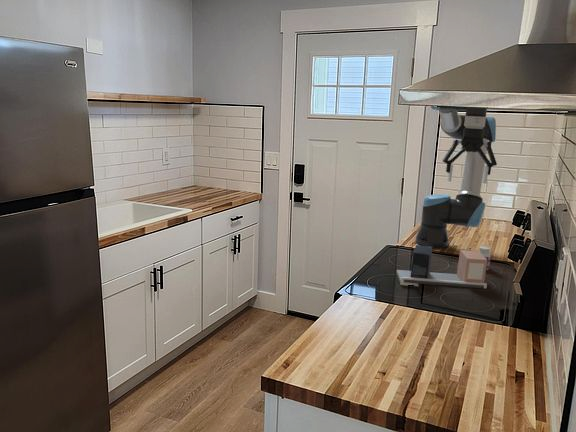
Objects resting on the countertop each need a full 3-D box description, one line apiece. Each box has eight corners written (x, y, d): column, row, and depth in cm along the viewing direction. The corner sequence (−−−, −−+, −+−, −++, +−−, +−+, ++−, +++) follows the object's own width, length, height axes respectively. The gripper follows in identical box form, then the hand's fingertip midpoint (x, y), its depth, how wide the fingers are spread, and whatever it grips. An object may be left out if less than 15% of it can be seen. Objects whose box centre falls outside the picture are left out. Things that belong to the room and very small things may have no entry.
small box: (412, 269, 188) (415, 244, 185) (429, 272, 186) (433, 246, 183) (409, 278, 178) (412, 251, 175) (427, 281, 176) (430, 254, 173)
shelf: (396, 272, 187) (397, 265, 187) (475, 278, 185) (476, 271, 184) (400, 285, 175) (401, 277, 174) (486, 291, 172) (487, 284, 172)
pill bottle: (489, 273, 191) (493, 250, 189) (475, 272, 192) (478, 249, 190) (487, 269, 196) (490, 246, 194) (473, 267, 197) (476, 245, 195)
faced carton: (456, 275, 184) (460, 250, 182) (475, 276, 184) (479, 251, 181) (463, 284, 174) (467, 258, 172) (483, 286, 174) (487, 260, 171)
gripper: (443, 126, 184) (436, 181, 189) (510, 129, 182) (502, 185, 187) (439, 125, 191) (432, 178, 196) (504, 128, 189) (496, 182, 194)
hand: (466, 182), depth 191 cm, fingers open, 13 cm apart
